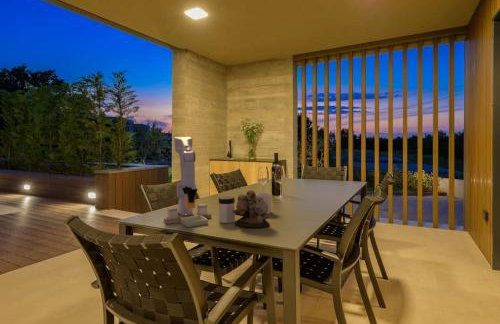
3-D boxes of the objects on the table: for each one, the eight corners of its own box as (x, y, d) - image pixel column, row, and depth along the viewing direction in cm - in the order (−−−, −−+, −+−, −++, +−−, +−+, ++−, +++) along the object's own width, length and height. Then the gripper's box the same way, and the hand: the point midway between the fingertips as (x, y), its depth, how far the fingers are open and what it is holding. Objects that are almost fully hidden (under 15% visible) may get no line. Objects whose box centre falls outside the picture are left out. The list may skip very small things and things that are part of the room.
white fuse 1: (167, 221, 158) (167, 208, 157) (175, 220, 160) (175, 207, 159) (170, 223, 154) (169, 209, 154) (177, 222, 156) (177, 208, 156)
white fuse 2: (197, 217, 166) (197, 204, 165) (204, 216, 168) (204, 203, 167) (200, 219, 162) (199, 205, 162) (207, 218, 164) (207, 204, 164)
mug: (272, 211, 177) (271, 193, 177) (270, 214, 169) (269, 195, 169) (251, 210, 180) (250, 192, 179) (248, 213, 172) (248, 195, 171)
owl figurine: (229, 228, 144) (228, 191, 143) (236, 222, 155) (235, 188, 154) (267, 229, 140) (266, 192, 139) (271, 223, 151) (271, 188, 150)
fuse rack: (163, 221, 158) (163, 217, 158) (206, 215, 170) (206, 211, 170) (167, 224, 152) (167, 220, 152) (211, 218, 164) (211, 214, 163)
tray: (180, 222, 155) (180, 217, 155) (200, 219, 160) (200, 215, 160) (187, 227, 146) (186, 222, 145) (208, 224, 151) (208, 219, 151)
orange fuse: (185, 207, 158) (184, 193, 157) (192, 206, 160) (192, 193, 159) (187, 208, 154) (187, 194, 154) (195, 207, 156) (194, 194, 156)
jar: (215, 221, 155) (214, 198, 155) (224, 218, 162) (223, 195, 162) (230, 223, 151) (229, 199, 150) (238, 220, 158) (238, 196, 157)
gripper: (177, 174, 160) (178, 200, 161) (185, 176, 148) (186, 205, 148) (190, 173, 164) (191, 199, 165) (199, 175, 151) (200, 203, 152)
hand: (189, 201), depth 157 cm, fingers closed on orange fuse, 4 cm apart
